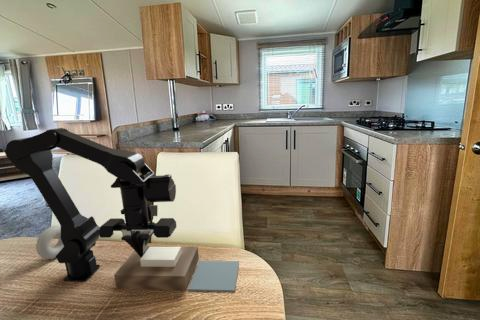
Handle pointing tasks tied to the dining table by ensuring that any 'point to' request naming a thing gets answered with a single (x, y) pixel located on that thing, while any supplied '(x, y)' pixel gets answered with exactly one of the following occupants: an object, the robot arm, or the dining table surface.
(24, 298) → the dining table surface
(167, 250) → the white rectangular block
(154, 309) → the dining table surface
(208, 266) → the mat
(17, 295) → the dining table surface
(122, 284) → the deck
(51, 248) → the donut
